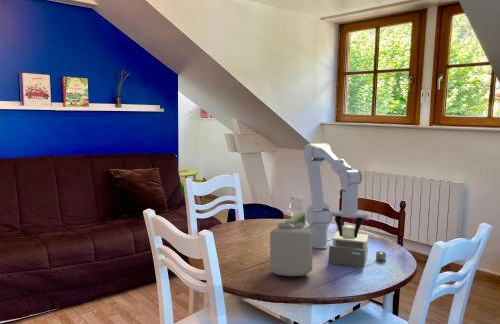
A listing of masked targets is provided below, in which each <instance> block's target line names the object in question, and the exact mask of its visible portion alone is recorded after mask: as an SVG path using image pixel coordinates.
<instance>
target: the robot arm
mask: <svg viewBox="0 0 500 324" xmlns="http://www.w3.org/2000/svg"><path fill="white" fill-rule="evenodd" d="M303 155H304V163H305V164H306V165H307V166H306V167H307V173H308V174H307V175H308V180H309V183H308V184H309V190H310V198H311V204H310V205H309V206H308V207H306V215H305V219H306V222H307V224H305V227H304V228H307V229H308V230H310V231H311V233H312V249H313V248H314V249H315V248H316V249H322V250H326V249H327V248H329V246H330V242H328V230H329V229H328V227H329V226H330V225H331V224H332V222H333V221H332V220H333V217H334V221H335V224H336V226H337V229H338V232H339V234H340V236H342V226H343V219H344V218H349V219H355V238H357V234H359V233H358V232H359V230H360V227H361V225H362V224H363V221H364V220H366V221H369V220H370V213H364V212H358V200H359V199H358V195H359V185H360V184H361V183H362V180H363V176H362V172H361V171H360V170H359V169H358V168H352V166H351V165H349V164H348V163H347V162H346V160H345V159H344V158H338V157H337V156H336V154H334V153H333V151H332V146H331V145H330V144H329V143H328V142H324V143H323V142H322V143H307V144H306V145H305V146H304V149H303ZM325 161H326V163H329V165H331V170H332V171H333V172H334V173H335V175H337V176H338V178H339V182H340V188H341V190H342V191H341V193H342V194H341V210H331V207H330V205H329V204H327V203H325V198H324V191H323V184H322V183H323V182H322V175H321V165H322V164H323V163H324V162H325Z"/></svg>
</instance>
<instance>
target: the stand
mask: <svg viewBox="0 0 500 324" xmlns="http://www.w3.org/2000/svg"><path fill="white" fill-rule="evenodd" d="M386 258H387V252H384V251H382V250H381V251H380V250H379V251H376V253H375V261H377V262H379V263H384V262H386Z"/></svg>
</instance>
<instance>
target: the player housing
mask: <svg viewBox="0 0 500 324" xmlns="http://www.w3.org/2000/svg"><path fill="white" fill-rule="evenodd" d="M332 246H338V247H346V248H355V249H364V250H365V258H364V261H366V260H367V257H368V251H369V249H368V248H369V234H367V233H366V234H364V233H358V234H357V238H355V239H344V238H342V236H340V234H339V230H338V231H336V232H335V233H334V235H333V237H332Z"/></svg>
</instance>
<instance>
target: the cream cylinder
mask: <svg viewBox="0 0 500 324" xmlns="http://www.w3.org/2000/svg"><path fill="white" fill-rule="evenodd" d="M355 229H356V226H353V225H349V224H346V225H342V238H344V239H355Z"/></svg>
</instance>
